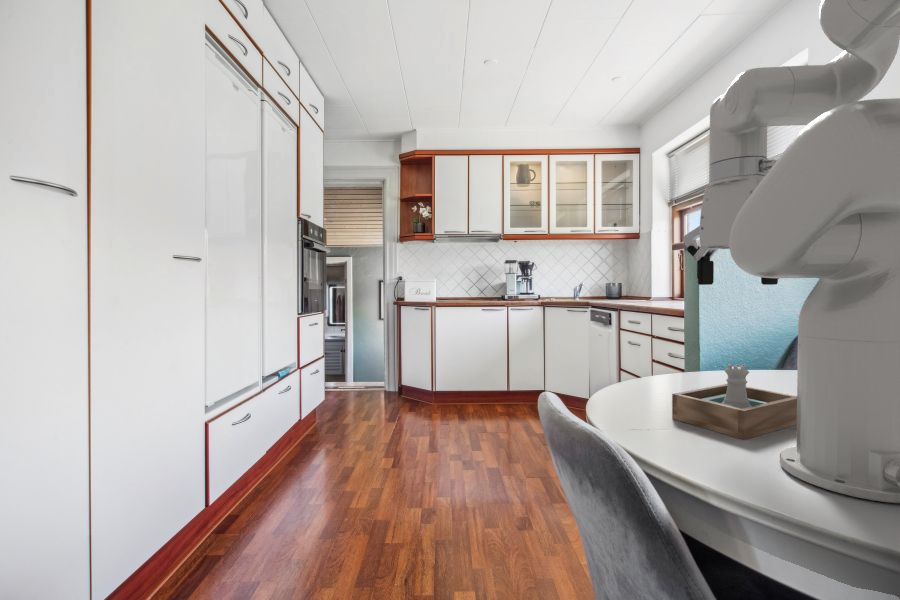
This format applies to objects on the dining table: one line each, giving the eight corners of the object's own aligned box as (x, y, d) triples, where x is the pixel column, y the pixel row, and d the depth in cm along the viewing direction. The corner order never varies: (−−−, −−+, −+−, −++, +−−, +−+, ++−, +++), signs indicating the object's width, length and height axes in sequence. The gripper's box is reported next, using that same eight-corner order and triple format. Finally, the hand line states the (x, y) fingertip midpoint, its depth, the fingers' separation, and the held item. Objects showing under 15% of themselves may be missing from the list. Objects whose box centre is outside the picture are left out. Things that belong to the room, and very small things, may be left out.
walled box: (801, 423, 67) (802, 397, 67) (743, 439, 61) (744, 411, 60) (729, 405, 77) (729, 383, 77) (672, 418, 70) (672, 393, 70)
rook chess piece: (743, 412, 71) (744, 362, 70) (760, 420, 66) (760, 368, 66) (714, 411, 71) (714, 362, 71) (728, 420, 67) (729, 367, 66)
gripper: (815, 164, 63) (813, 284, 63) (698, 188, 78) (697, 284, 79) (787, 158, 59) (785, 285, 60) (671, 184, 75) (670, 285, 75)
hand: (735, 284), depth 69 cm, fingers open, 9 cm apart
